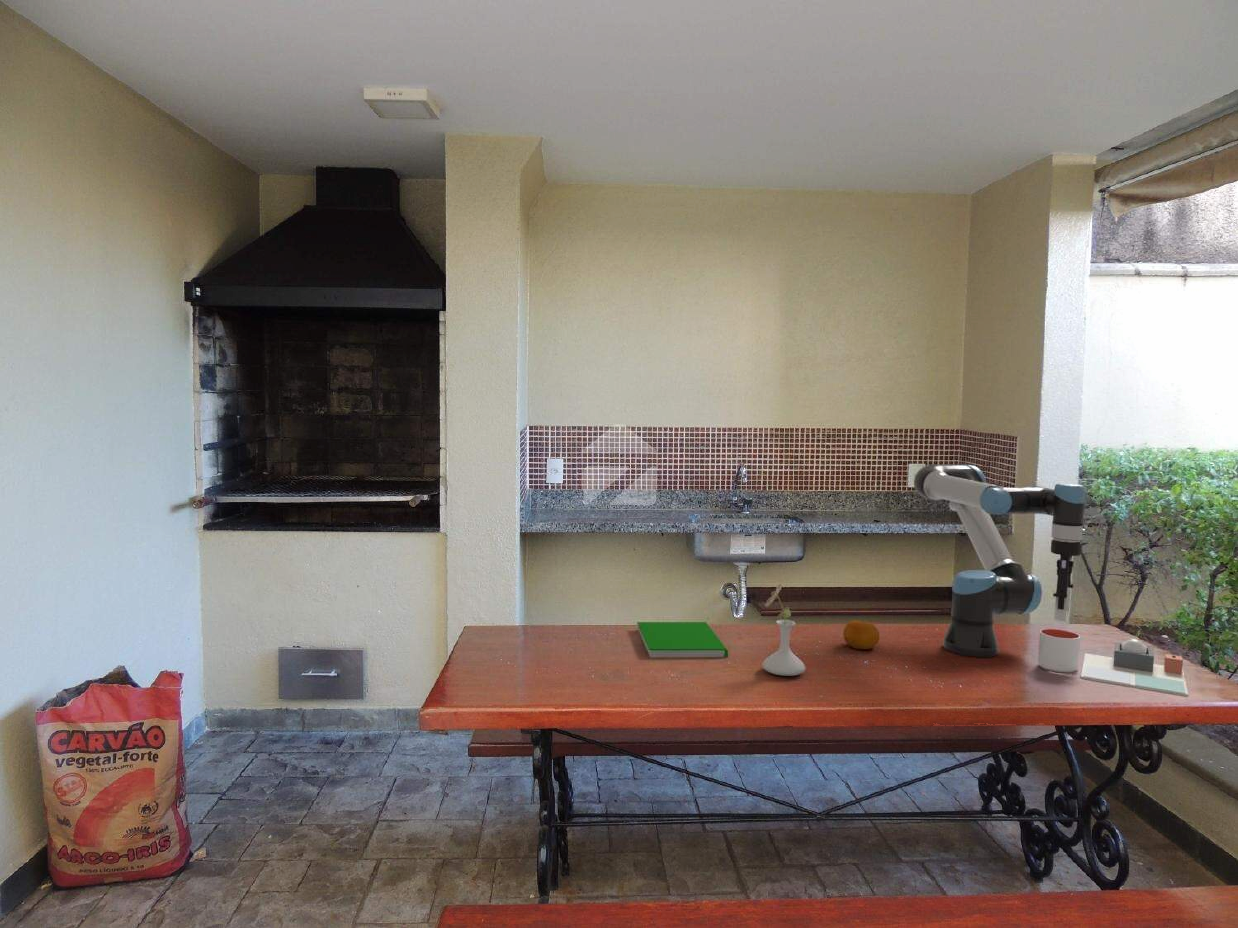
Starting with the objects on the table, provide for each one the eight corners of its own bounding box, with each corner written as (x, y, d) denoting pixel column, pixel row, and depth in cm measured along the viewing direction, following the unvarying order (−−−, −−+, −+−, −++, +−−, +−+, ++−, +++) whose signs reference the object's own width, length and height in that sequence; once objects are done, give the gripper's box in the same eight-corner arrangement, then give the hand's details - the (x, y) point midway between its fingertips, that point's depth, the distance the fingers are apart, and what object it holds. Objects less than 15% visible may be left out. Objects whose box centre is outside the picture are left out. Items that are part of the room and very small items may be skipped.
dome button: (1120, 662, 238) (1122, 640, 238) (1120, 657, 243) (1122, 635, 243) (1145, 666, 235) (1147, 643, 235) (1145, 661, 240) (1147, 638, 240)
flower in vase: (778, 663, 234) (781, 574, 232) (813, 673, 226) (817, 581, 224) (749, 673, 225) (753, 580, 223) (785, 684, 217) (789, 588, 215)
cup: (1083, 676, 230) (1085, 640, 229) (1043, 672, 232) (1045, 637, 231) (1071, 664, 240) (1073, 630, 239) (1033, 661, 242) (1035, 627, 241)
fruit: (883, 646, 253) (884, 620, 253) (873, 654, 244) (874, 627, 244) (848, 640, 259) (849, 614, 258) (837, 648, 250) (839, 621, 249)
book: (649, 659, 236) (649, 649, 236) (636, 631, 264) (637, 622, 264) (727, 659, 239) (728, 648, 238) (707, 631, 266) (707, 622, 266)
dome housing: (1113, 665, 238) (1114, 650, 237) (1113, 657, 246) (1115, 642, 245) (1152, 672, 233) (1154, 656, 233) (1151, 663, 241) (1153, 648, 241)
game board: (1081, 677, 228) (1082, 660, 228) (1085, 654, 249) (1086, 638, 249) (1187, 696, 216) (1189, 677, 215) (1182, 670, 237) (1183, 653, 237)
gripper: (1079, 547, 220) (1074, 627, 222) (1084, 535, 242) (1079, 608, 243) (1047, 544, 224) (1042, 622, 226) (1054, 532, 245) (1050, 604, 247)
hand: (1061, 615), depth 234 cm, fingers open, 13 cm apart
